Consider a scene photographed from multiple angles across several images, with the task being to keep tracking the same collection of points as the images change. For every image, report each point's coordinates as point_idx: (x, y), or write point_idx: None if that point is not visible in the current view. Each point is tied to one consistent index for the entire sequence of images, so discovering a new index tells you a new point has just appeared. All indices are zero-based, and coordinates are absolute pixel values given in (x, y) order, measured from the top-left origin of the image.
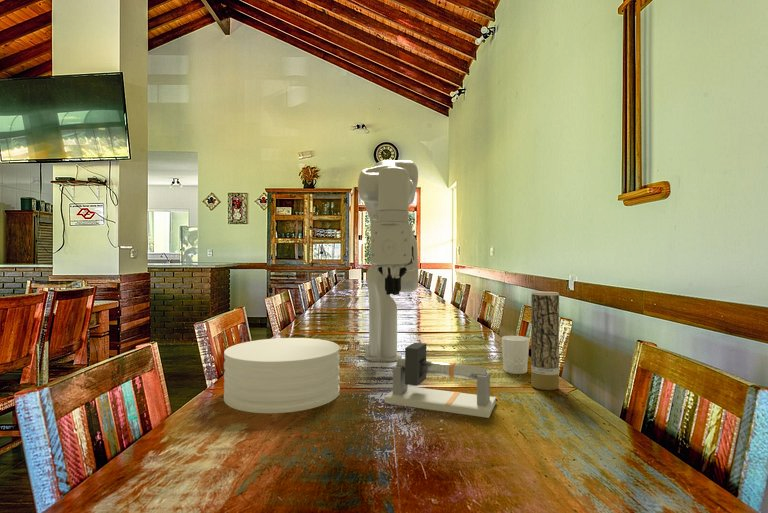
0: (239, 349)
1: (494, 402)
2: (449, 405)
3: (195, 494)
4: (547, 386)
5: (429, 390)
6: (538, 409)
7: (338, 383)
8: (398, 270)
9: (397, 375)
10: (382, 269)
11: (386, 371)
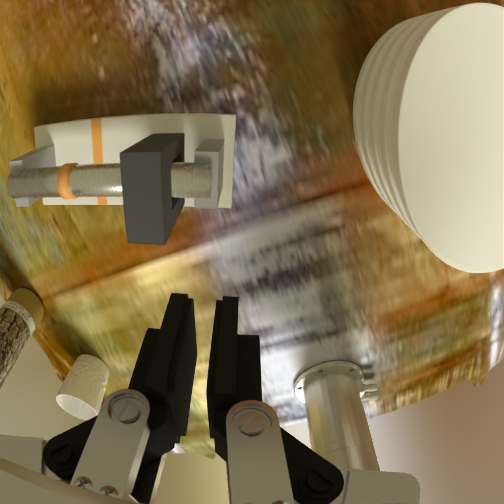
0: None
1: None
2: (92, 119)
3: None
4: (17, 290)
5: None
6: (2, 200)
7: (363, 140)
8: (93, 450)
9: (206, 147)
10: (288, 477)
11: (301, 317)
